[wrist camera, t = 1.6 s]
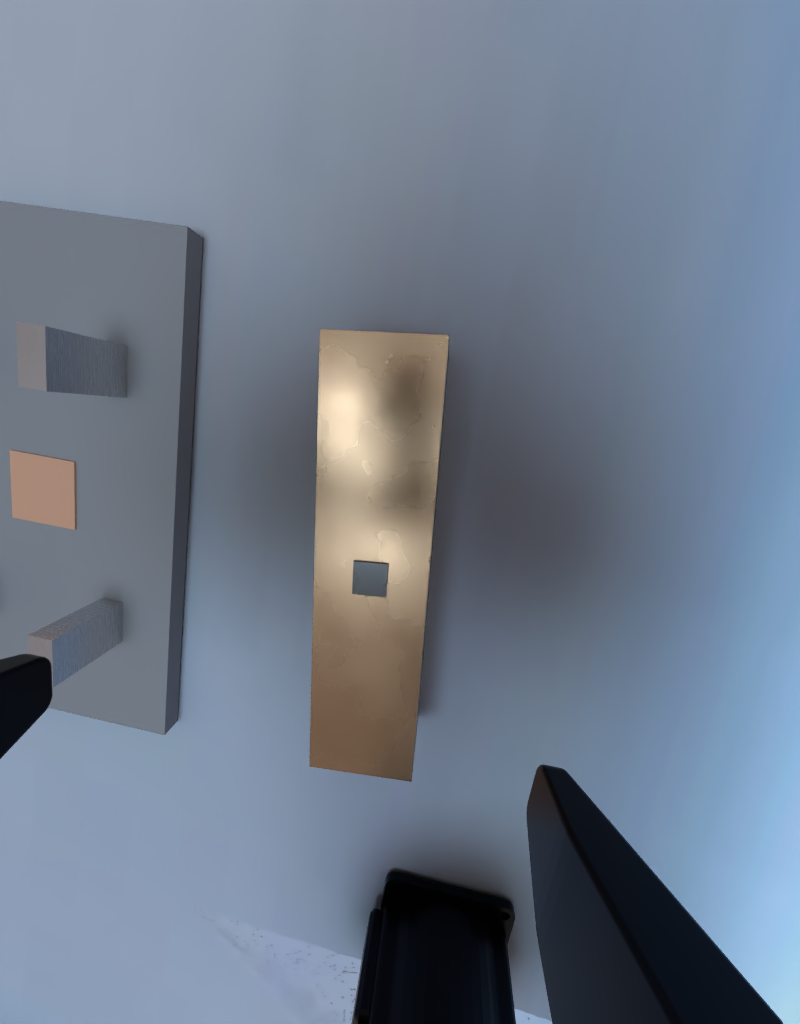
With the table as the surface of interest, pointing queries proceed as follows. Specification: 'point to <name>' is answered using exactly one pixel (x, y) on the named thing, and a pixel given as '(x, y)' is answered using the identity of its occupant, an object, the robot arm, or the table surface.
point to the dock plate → (100, 451)
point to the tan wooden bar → (373, 544)
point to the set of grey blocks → (90, 371)
